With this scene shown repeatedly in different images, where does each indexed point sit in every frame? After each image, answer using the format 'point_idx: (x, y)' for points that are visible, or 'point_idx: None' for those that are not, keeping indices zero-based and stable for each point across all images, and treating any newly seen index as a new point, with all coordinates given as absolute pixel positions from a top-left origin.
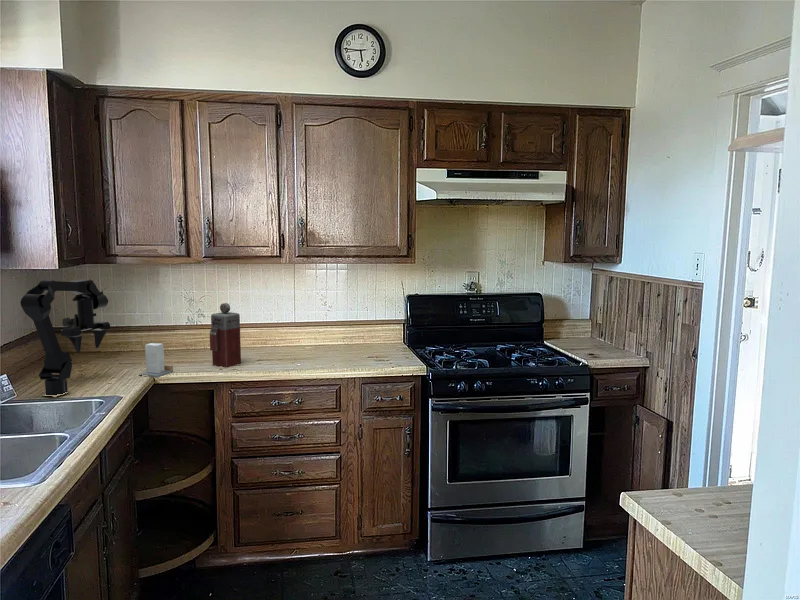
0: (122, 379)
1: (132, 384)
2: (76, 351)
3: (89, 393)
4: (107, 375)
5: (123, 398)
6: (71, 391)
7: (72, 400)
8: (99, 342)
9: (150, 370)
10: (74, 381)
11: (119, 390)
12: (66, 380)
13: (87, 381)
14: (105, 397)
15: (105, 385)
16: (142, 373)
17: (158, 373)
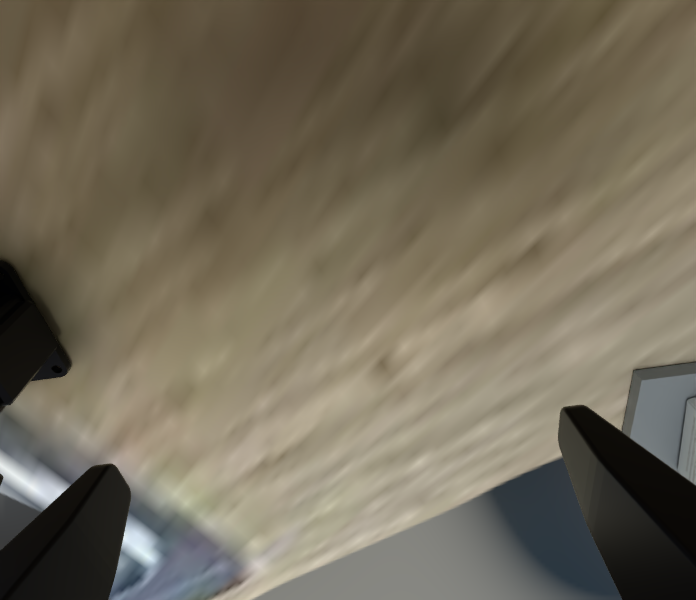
0: (504, 356)
1: (428, 480)
2: (81, 479)
3: (164, 444)
4: (579, 143)
5: (231, 593)
6: (99, 329)
7: (35, 476)
8: (615, 576)
9: (693, 438)
10: (265, 54)
11: (304, 510)
12: (7, 404)
13: (335, 176)
14: (185, 542)
15: (331, 385)
16: (657, 392)
17: (677, 465)
